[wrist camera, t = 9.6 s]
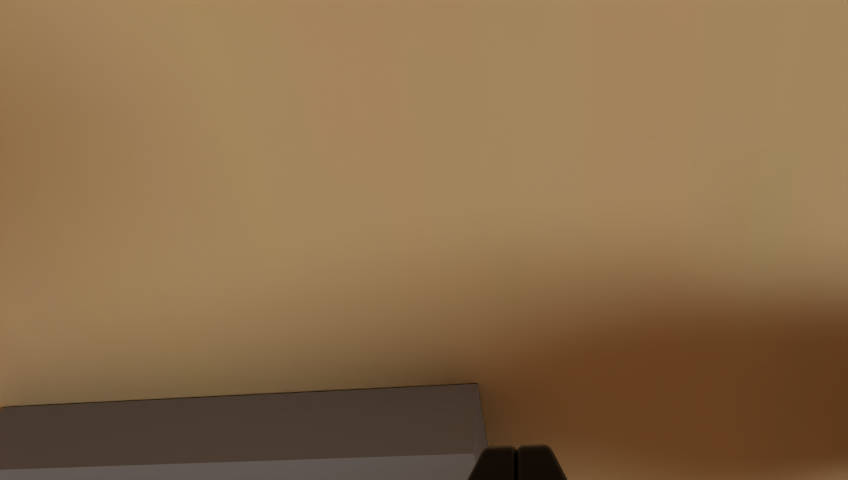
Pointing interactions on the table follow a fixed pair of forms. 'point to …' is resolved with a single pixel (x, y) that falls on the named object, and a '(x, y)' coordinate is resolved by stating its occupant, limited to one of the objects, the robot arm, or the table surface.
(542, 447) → the robot arm
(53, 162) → the table surface
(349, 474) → the button panel
